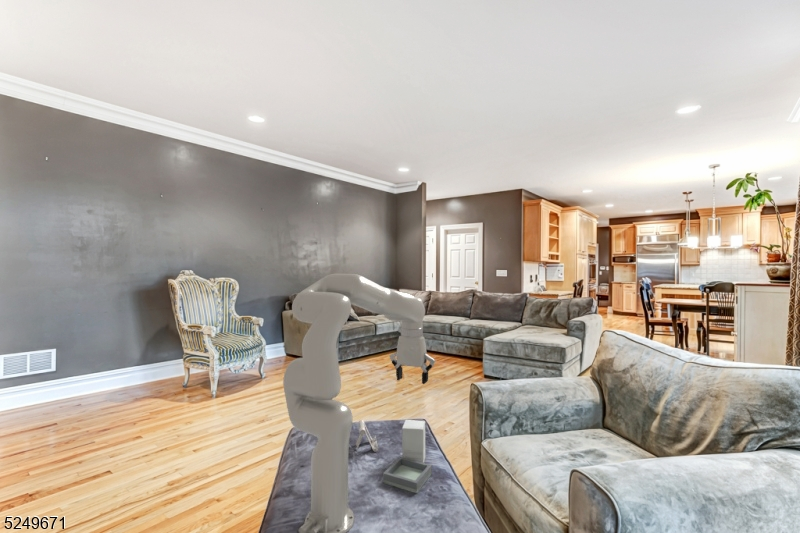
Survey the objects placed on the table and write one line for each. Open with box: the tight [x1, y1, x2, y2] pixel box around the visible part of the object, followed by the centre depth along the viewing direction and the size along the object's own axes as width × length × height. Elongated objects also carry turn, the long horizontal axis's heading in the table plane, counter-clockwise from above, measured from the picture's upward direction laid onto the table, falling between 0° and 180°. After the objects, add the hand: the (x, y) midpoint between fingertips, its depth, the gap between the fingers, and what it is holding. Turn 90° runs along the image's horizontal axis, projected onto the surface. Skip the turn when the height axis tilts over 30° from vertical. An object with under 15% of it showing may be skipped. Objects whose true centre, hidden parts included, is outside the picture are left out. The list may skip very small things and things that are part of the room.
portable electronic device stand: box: [355, 419, 379, 452], centre depth 140 cm, size 9×8×8 cm
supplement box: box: [401, 419, 426, 463], centre depth 130 cm, size 7×7×13 cm
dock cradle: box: [382, 456, 433, 494], centre depth 119 cm, size 12×12×3 cm
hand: (411, 381), depth 134 cm, fingers open, 9 cm apart
